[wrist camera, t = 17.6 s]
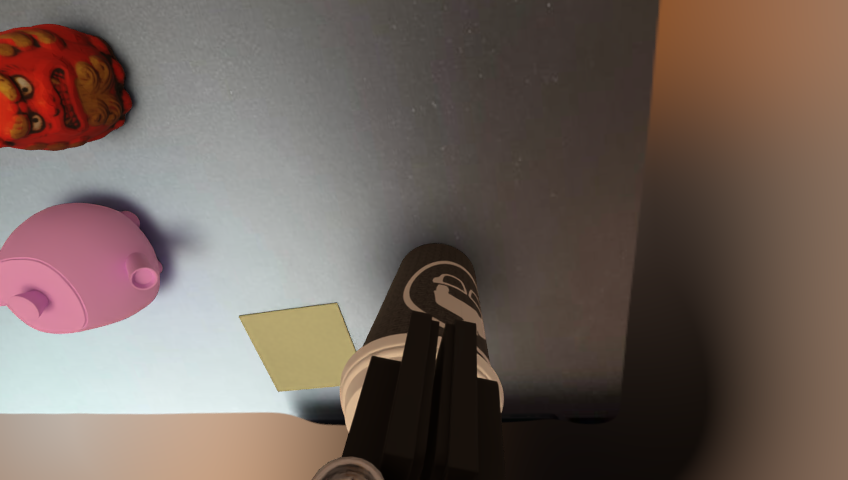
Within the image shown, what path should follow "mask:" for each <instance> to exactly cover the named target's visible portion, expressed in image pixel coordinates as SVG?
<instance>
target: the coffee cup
mask: <svg viewBox="0 0 848 480" xmlns="http://www.w3.org/2000/svg"><path fill="white" fill-rule="evenodd" d="M412 310H414V311H419V312H424V313H429V314H432V315H433V316H432V320H434V321H439V322H440V324H439V334H438V343H437V353H436V358H437V354H438V350H439V346H440V342H441V339H442V335H443V331H444V327H445V324H446V323H449V324H453V323H454V320H455V319H458V320H462V321H467V322H472V323H476V327H477V377H478V378H483V379H488V380H493V381H497V382H498V385H499V394H500V408H501V412H502V408H503V401H504V397H503V389H502V386H501V383H500V380H499V378H498V376H497V374H496V373H495V371H494V370H493V368H492V367H491V366H490V361H489V355H488V349H487V343H486V337H485V332H484V326H483V320H482V314H481V307H480V301H479V295H478V289H477V283H476V277H475V271H474V268H473V265H472V263H471V262H470V260H469V259H468V258H467V257H466V255H464V254H463V253H462V252H461V251H459V250H458V249H456V248H454V247H451V246H449V245H445V244H437V243H433V244H426V245H422V246H419V247H417V248H415V249H413V250H412V251H411V252H409V253H408V254H407V255H406V256H405V258H404V259H403V261H402V263H401V265H400V267H399V269H398V271H397V274H396V276H395V278H394V280H393V282H392V284H391V287H390V289H389V291H388V293H387V295H386V297H385V300H384V302H383V304H382V306H381V308H380V311H379V313H378V315H377V317H376V319H375V321H374V323H373V326H372V328H371V330H370V332H369V334H368V336H367V338H366V341H365V343H364V345H363V347H362V348H360V349H359V350H358V351H357V352H355V353H354V354H353V355H352V357H351V358H350V359H349V360H348V362H347V363H346V365H345V367H344V369H343V372H342V375H341V380H340V399H341V406H342V410H343V413H344V416H345V422H346V427H347V430H348V432H349V431H350V427H351V424H352V420H353V417H354V414H355V410H356V407H357V403H358V400H359V397H360V393H361V390H362V386H363V383H364V380H365V376H366V373H367V369H368V366H369V363H370V359H371V357H372V356H377V357H382V358H387V359H392V360H396V361H402V356H403V351H404V346H405V342H406V337H407V332H408V327H409V323H410V318H411V313H412Z"/></svg>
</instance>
